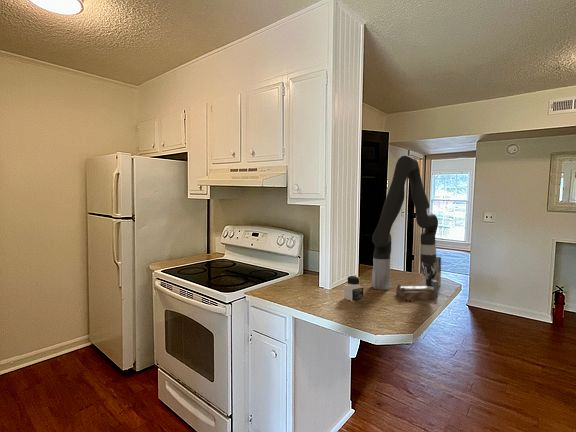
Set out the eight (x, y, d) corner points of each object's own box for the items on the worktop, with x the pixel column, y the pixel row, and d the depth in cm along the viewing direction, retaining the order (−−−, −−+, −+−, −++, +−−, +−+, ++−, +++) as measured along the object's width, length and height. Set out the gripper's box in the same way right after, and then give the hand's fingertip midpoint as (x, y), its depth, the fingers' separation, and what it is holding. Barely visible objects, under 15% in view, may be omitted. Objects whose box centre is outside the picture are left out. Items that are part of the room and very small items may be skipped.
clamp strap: (401, 290, 166) (401, 286, 165) (398, 288, 170) (398, 284, 169) (433, 290, 166) (433, 286, 166) (429, 288, 170) (430, 284, 170)
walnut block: (402, 300, 163) (402, 289, 163) (396, 294, 172) (396, 283, 172) (435, 299, 164) (435, 288, 163) (427, 293, 172) (427, 283, 172)
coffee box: (429, 282, 194) (429, 255, 192) (440, 284, 190) (441, 257, 188) (425, 286, 186) (425, 258, 185) (437, 288, 182) (437, 259, 181)
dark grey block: (433, 297, 166) (433, 281, 166) (430, 295, 170) (430, 280, 169) (438, 297, 166) (438, 281, 166) (435, 295, 170) (435, 279, 169)
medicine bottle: (352, 302, 161) (352, 279, 160) (343, 298, 167) (343, 275, 166) (363, 300, 164) (363, 277, 163) (354, 296, 170) (354, 274, 169)
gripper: (415, 251, 173) (416, 282, 174) (426, 255, 159) (427, 290, 161) (429, 250, 173) (430, 282, 174) (441, 254, 159) (442, 289, 161)
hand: (428, 285), depth 167 cm, fingers closed
